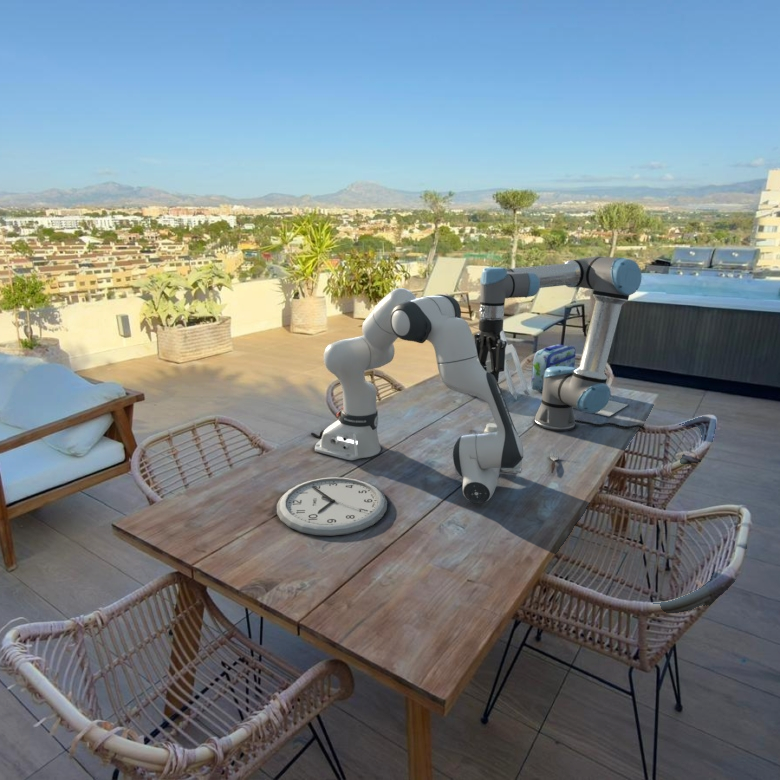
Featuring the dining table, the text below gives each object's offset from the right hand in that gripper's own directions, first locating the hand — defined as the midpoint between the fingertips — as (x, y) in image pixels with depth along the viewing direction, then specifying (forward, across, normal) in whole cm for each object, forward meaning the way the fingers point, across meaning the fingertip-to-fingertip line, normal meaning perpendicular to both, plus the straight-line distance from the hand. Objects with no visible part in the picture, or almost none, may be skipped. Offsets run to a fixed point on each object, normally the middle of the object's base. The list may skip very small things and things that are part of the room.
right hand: (487, 388), depth 171 cm
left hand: (+17, +10, -5) cm, 20 cm away
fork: (+23, +17, +15) cm, 33 cm away
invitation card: (+24, -16, +77) cm, 82 cm away
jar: (+23, +11, -6) cm, 26 cm away
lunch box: (+24, -45, +76) cm, 91 cm away
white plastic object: (+24, -56, +41) cm, 73 cm away
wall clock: (+22, +10, -59) cm, 64 cm away
